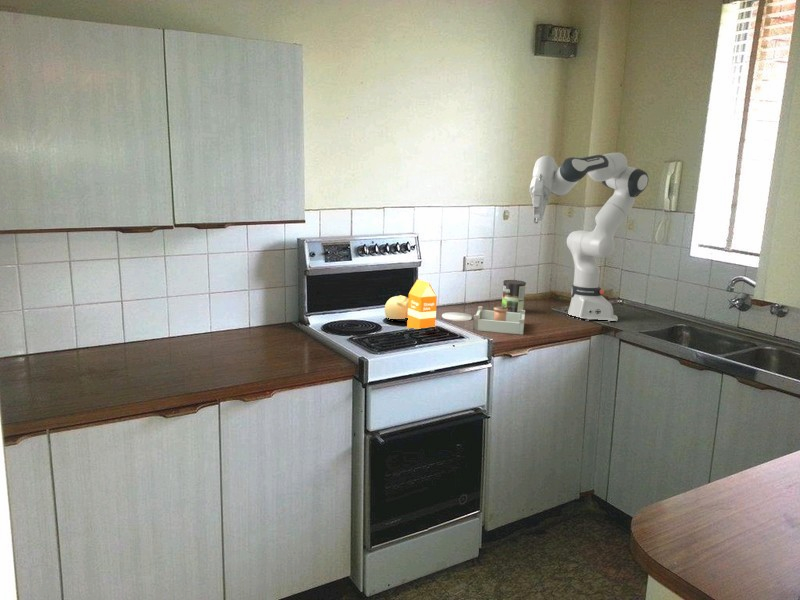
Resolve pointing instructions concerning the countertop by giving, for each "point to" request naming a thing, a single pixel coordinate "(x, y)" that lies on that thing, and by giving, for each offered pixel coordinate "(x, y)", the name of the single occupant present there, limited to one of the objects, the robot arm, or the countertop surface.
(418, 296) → the orange juice
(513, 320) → the green tray
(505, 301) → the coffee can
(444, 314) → the saucer
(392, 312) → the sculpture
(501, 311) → the terracotta pot
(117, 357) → the countertop surface
